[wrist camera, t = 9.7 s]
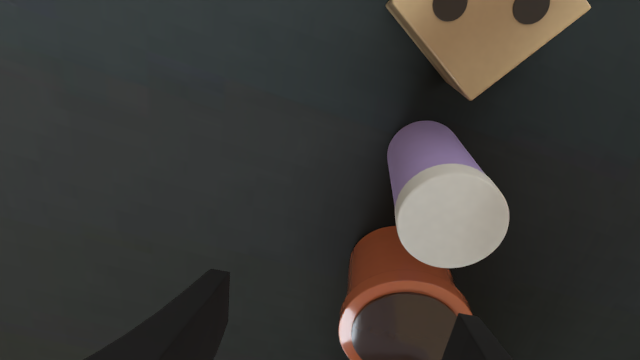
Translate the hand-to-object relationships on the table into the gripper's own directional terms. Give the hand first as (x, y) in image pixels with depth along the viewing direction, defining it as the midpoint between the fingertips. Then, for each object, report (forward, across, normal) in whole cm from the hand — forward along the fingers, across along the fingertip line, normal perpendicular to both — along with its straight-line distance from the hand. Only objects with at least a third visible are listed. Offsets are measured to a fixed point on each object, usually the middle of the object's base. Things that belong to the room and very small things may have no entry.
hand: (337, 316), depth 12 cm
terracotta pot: (+9, -4, +4) cm, 11 cm away
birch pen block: (+9, -3, -10) cm, 14 cm away
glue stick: (+9, -3, -3) cm, 10 cm away
